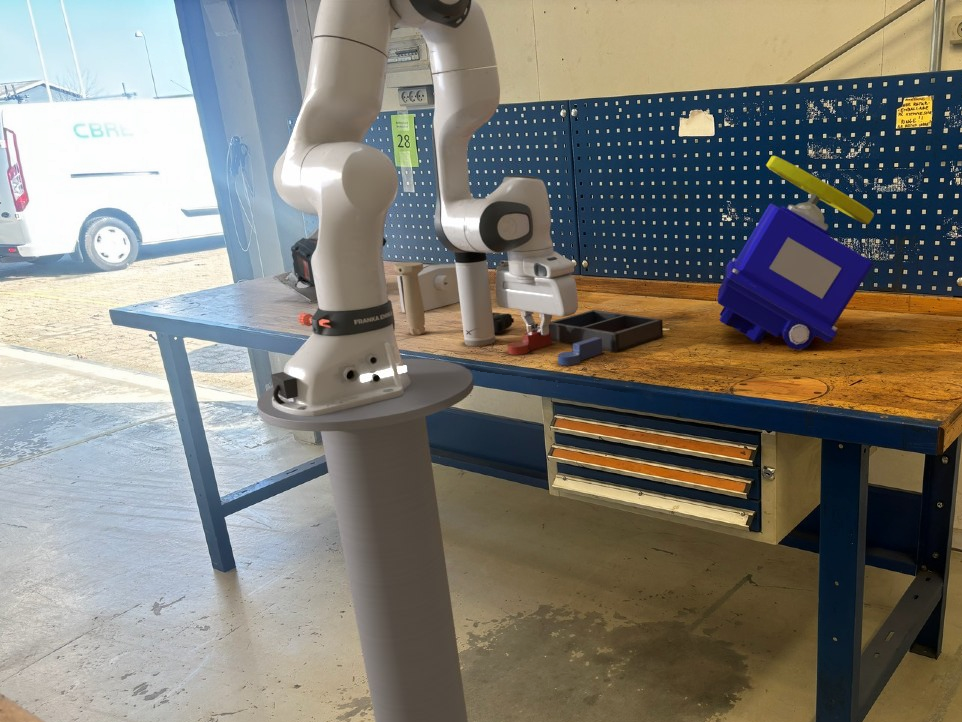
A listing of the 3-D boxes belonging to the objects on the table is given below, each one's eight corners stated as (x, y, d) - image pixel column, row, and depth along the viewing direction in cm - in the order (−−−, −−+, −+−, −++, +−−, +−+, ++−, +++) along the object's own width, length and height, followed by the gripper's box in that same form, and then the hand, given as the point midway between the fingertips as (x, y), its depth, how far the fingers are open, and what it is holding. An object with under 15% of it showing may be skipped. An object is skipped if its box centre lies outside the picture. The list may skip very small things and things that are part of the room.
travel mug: (469, 348, 170) (457, 247, 163) (461, 341, 176) (450, 243, 169) (499, 344, 173) (489, 243, 165) (490, 337, 178) (480, 240, 171)
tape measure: (502, 336, 178) (500, 319, 177) (472, 336, 180) (470, 318, 179) (515, 329, 184) (513, 312, 183) (486, 328, 186) (484, 311, 185)
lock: (422, 315, 204) (417, 273, 200) (397, 312, 209) (391, 271, 205) (477, 300, 217) (473, 260, 214) (452, 297, 223) (447, 259, 219)
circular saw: (252, 292, 225) (274, 207, 213) (340, 269, 256) (363, 193, 243) (313, 333, 222) (338, 249, 210) (393, 305, 253) (420, 230, 240)
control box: (687, 306, 154) (776, 152, 144) (693, 287, 179) (769, 155, 169) (809, 376, 155) (907, 228, 145) (798, 348, 180) (880, 220, 170)
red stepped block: (541, 342, 172) (540, 327, 171) (555, 344, 169) (554, 329, 168) (504, 353, 165) (502, 338, 164) (517, 356, 163) (516, 340, 161)
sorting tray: (616, 352, 161) (615, 334, 160) (547, 339, 173) (545, 322, 172) (663, 336, 170) (662, 319, 169) (594, 325, 183) (593, 309, 181)
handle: (420, 337, 182) (410, 266, 176) (399, 334, 185) (389, 265, 180) (436, 332, 185) (427, 263, 180) (415, 329, 189) (406, 261, 184)
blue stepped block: (591, 351, 163) (590, 336, 162) (607, 354, 160) (606, 338, 159) (554, 363, 156) (552, 347, 155) (569, 366, 153) (568, 350, 152)
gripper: (484, 262, 167) (492, 330, 173) (556, 269, 154) (562, 343, 159) (508, 257, 172) (515, 324, 177) (580, 263, 158) (585, 336, 163)
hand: (538, 333), depth 168 cm, fingers closed on red stepped block, 2 cm apart
